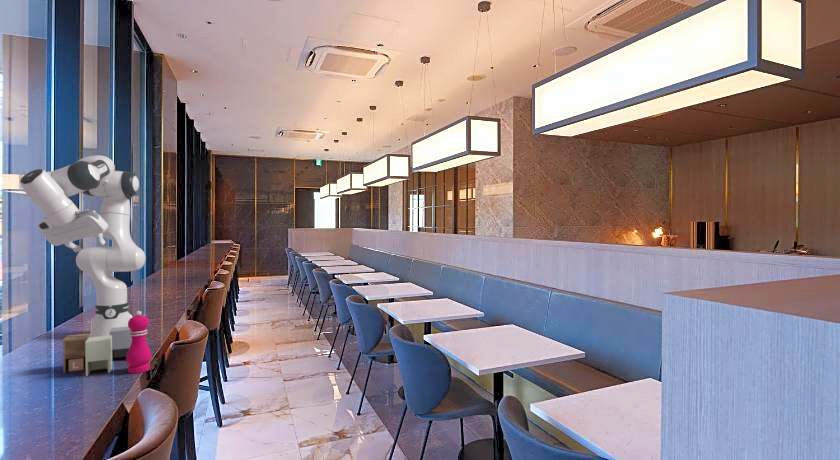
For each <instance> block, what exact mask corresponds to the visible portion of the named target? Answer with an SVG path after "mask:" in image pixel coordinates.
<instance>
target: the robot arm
mask: <svg viewBox="0 0 840 460" xmlns="http://www.w3.org/2000/svg"><path fill="white" fill-rule="evenodd" d="M19 184H20V186H21V188H22V190H23V191H24V193H25V194H26V195H27V197H28V198H29V199H30V201H31V202H32V204H34V205H35V206H37V207H38V208H39V209H40V210H41V212H42V213H41V214H43V216H44V218H43V219H42V220H41V221H40V222H38V223H37V225H36V228H37V230H39V231H41V233H42V235H43V237H44V238H45V240H47V242H48V243H49V244H50V245H52V246H54V247H57V246H61V245H65V247H67V248H69V249H70V250H71V249H72V250H73V252H74V253H77V254H76V257H75V263H76V265H77V268H78V269H79V270H81V271H82V272H84V273H86V275H87V276H88V277H89V278H90V279H91V281H92V283H93V285H94V288H95V297H96V304H95V307H94V311H95V313H94V316H93V317H92V318H91V319H90V337H100V336H110V334H109V332H110V330H111V328H117V327H128V321H129V320H130V319H131V318H132V317H133V315H132V314H131V313H130V312H129V310H130V309H129V307H130V306H129V302H128V286H127V285H126V283H125V282H124V281H123V280H120V279H117V278H116V277H115V276H114V274H113V272H114V273H118V272H120V273H123V272H124V273H125V272H127V273H128V272H131V271H138V270H141V269H142V268H143V267H144V265H145V263H146V261H147V260H146V259H147V256H146V253H145V252H144V250H143V249H142V248H140V247H139V246H138V245H136V243H135V241H133V239H132V236H131V227H130V225H131V201H130V199H132V198H133V197H134V196H135V195H136V194H137V193H138V191H139V189H140V181H139V177H138V175H137V174H136V173H135V172H131V171H126V170H125V171H121V170H116V168H115V163H114V161H113V160H112V159H111V158H109V157H108V156H105V155H101V154H99V155H98V154H97V155H89V156H85V157H82V158H80V159H78V160H77V161H75V162H74V163H72V164H70V165H67V166H64V167H61V168H58V169H55V170H52V171H46V170H44V169H42V168H37V169H35V170H31V171H29V172H28V173H26V174H24V175H23V176H22V177H21V178H20V181H19ZM81 193H82V194H83V195H86V196H91V197H94V196H96V197H103V200H102V203H101V206H100V213H99V214H98V213H97V211H96V210H94V209H92V208H91V209H89V208H84V209H80V210H79V208H78V207H77V206H76V204H75V203H74V202H73V201H72V200H71V199H70V198H69V197H72V196H75V195H78V194H81ZM92 236H94V237H95V238H97V241H96V244H97V245H98V246H91V247H86V248H82V247H81V245H79V244H78V245H76V244H75V243H73V242H75V241H78V240H83V239H85V238H89V237H92ZM104 238H106V239H108V240H110V241H112V245H111V246H103V245H105V244H106V241H105V239H104Z"/></svg>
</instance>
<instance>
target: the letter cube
mask: <svg viewBox="0 0 840 460" xmlns="http://www.w3.org/2000/svg"><path fill="white" fill-rule="evenodd" d="M84 370H85V357H80V358H72V359H69V368H68V372H76V371H84Z"/></svg>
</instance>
